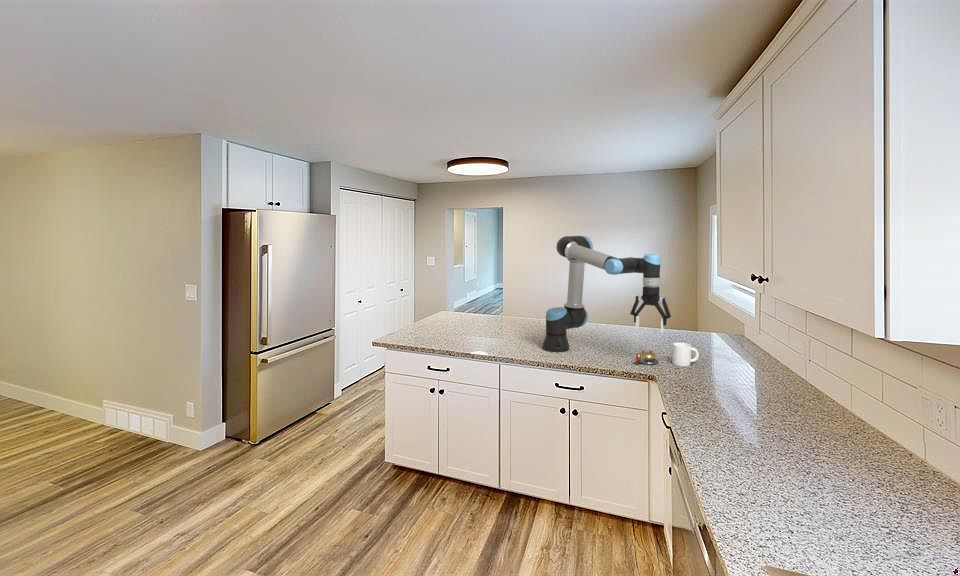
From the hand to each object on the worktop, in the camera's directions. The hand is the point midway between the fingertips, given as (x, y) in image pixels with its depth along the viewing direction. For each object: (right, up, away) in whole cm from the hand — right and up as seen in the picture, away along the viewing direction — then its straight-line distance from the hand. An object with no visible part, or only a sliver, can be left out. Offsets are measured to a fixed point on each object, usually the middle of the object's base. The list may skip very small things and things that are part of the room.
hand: (649, 330), depth 204 cm
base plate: (+3, -17, +9) cm, 20 cm away
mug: (+20, -18, +4) cm, 27 cm away
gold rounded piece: (+1, -16, +8) cm, 18 cm away
